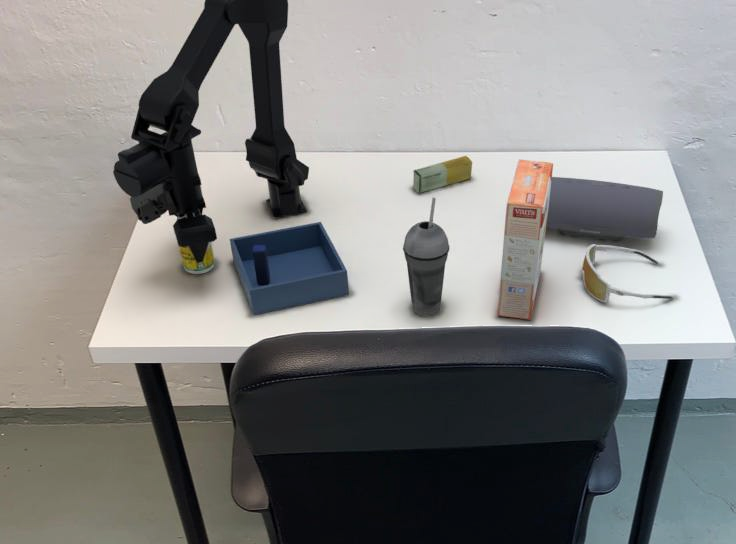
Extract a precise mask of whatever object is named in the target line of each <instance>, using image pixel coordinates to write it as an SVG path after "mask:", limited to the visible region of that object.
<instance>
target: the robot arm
mask: <svg viewBox="0 0 736 544" xmlns="http://www.w3.org/2000/svg"><path fill="white" fill-rule="evenodd" d="M288 1H289V0H205V1H204V4H203V9H202V11H201V12H200V15H199V17H198V18H197V20H196V21H195V24H193V25H194V26H193V27H192V29H191V30H190V32H189V34H188V36H187V38H186V39H185V41H184V43H183V45H182V46H181V48H180V50H179V52H178V53H177V55H176V57H175V59H174V61H173V62H172V64H171V66H169V68H168V69H167V71H165V72H163V73H161V74H160V75H158V76H157V77H155V78H154V79H153V80H152V81H151V82H150V84H149V85H148V86H147V88H146V89H145V90H144V91H143V93H142V94H141V96H140V97H139V101H138V109H137V113H136V117H135V119H134V125H133V128H132V132H131V136H130V139H131V140H133V141H136V142H138V143H137V144H135V145H133V146H131V147H129V148H126V149H123V150H121V151H119V152H118V153H117V157H118V160H117V161H116V162H115V163H114V165H113V171H112V172H113V177H114V180H115V181H116V183H117V185H118V186H119V188H120V189H121V190H122V191H123V192H124V193H125V194H126V195H128V196H129V197H130V198H129V201H130V206H131V209H132V210H133V212H134V213H135V214H136V216H137V219H138V221H140V222H142V224H143V225H148V224H150V223H152V222H154V221H156V220H157V219H160V218H161V217H162V215H165V214H166V213H167V212H168V216H170V217H171V216H174V217H176V220H175V222H174V223H173V225H172V228H173V233H174V236H175V240H176V244H177V246H178V247H179V246H180V247H186V246H189V248H190V250H191V252H192V254H193V256H194V258H195V260H196V262H197V263H199V262H203V260H204V257H205V253H206V250H207V247H208V244H209V242H211V243H212V242H215V241H216V240H217V239H218V237H217V231H216V228H215V227H216V226H215V225H214V222H213V219H212V218H211V217H210V216H208V215H206V214H203V212H204V209H206V208H207V205H206V201H205V198H204V196H203V191H202V180H201V176H200V174H199V170H198V167H197V166H198V165H197V160H196V155H195V151H194V146H193V142H192V141H193V139H194V138H196V137H198V136H200V135H201V134H202V130H201V129H199V128H198V127H195V126H194V125H193V123H194V120H195V117H196V115H197V112H198V110H199V107H200V93H199V91H200V89H201V87H202V85H203V82H204V80H205V78H206V77H207V75H208V74H209V72H210V70H211V68H212V66H213V65H214V63H215V61H216V59H217V58H218V55H219V54H220V52H221V50H222V49H223V47H224V45H225V43H226V41H227V39H229V36H230V35H231V33H232V31H233V29H234V27H235V26H236V25H238V27H239V28H240V30H241V32H242V34H243V36H244V38H245V39H246V41H247V43H248V49H249V50H248V51H249V61H250V74H251V85H252V96H253V107H254V120H255V129H254V130H253V132H252V134H251V135H250V138H246V139H245V141H244V145H245V151H246V155H245V161H246V162H248V165H249V167H250V169H252V170H253V171H254V173H255V175H256V176H257V177H258V178H261V179H265V180H266V181H267V188H268V195H269V198H268V199H266V200H265V203H266V205H267V207H268V210H269V212H270V215H271V216H272V218H273V219H279V218H283V217H288V216H295V215H299V214H304V213H307V210H308V209H307V208H306V204H305V203H304V202H303V199H302V197H301V189H300V187H302V186H303V185H305V182H306V181H307V180H308V179H309V171H310V167H309V166H308V165H306V164H305V163H304V162H302V161H300V160H299V159H298V158H297V152H296V147H295V143H294V141H293V139H292V137H291V136H290V134H289V132H288V130H287V129H286V127H285V114H284V99H283V82H282V81H283V80H282V68H281V67H282V66H281V65H282V64H281V52H280V42H281V40H282V39H283V36H284V34H285V32H286V30H287V28H288V21H289V19H288V18H289V2H288ZM150 127H152V128H155V129H158V130H161V131H164V132H162V133H158V132H156V131H153V130H149V128H150ZM193 213H194V215H193ZM184 214H186V216H187V218H185V215H184ZM177 217H179V219H177Z"/></svg>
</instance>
